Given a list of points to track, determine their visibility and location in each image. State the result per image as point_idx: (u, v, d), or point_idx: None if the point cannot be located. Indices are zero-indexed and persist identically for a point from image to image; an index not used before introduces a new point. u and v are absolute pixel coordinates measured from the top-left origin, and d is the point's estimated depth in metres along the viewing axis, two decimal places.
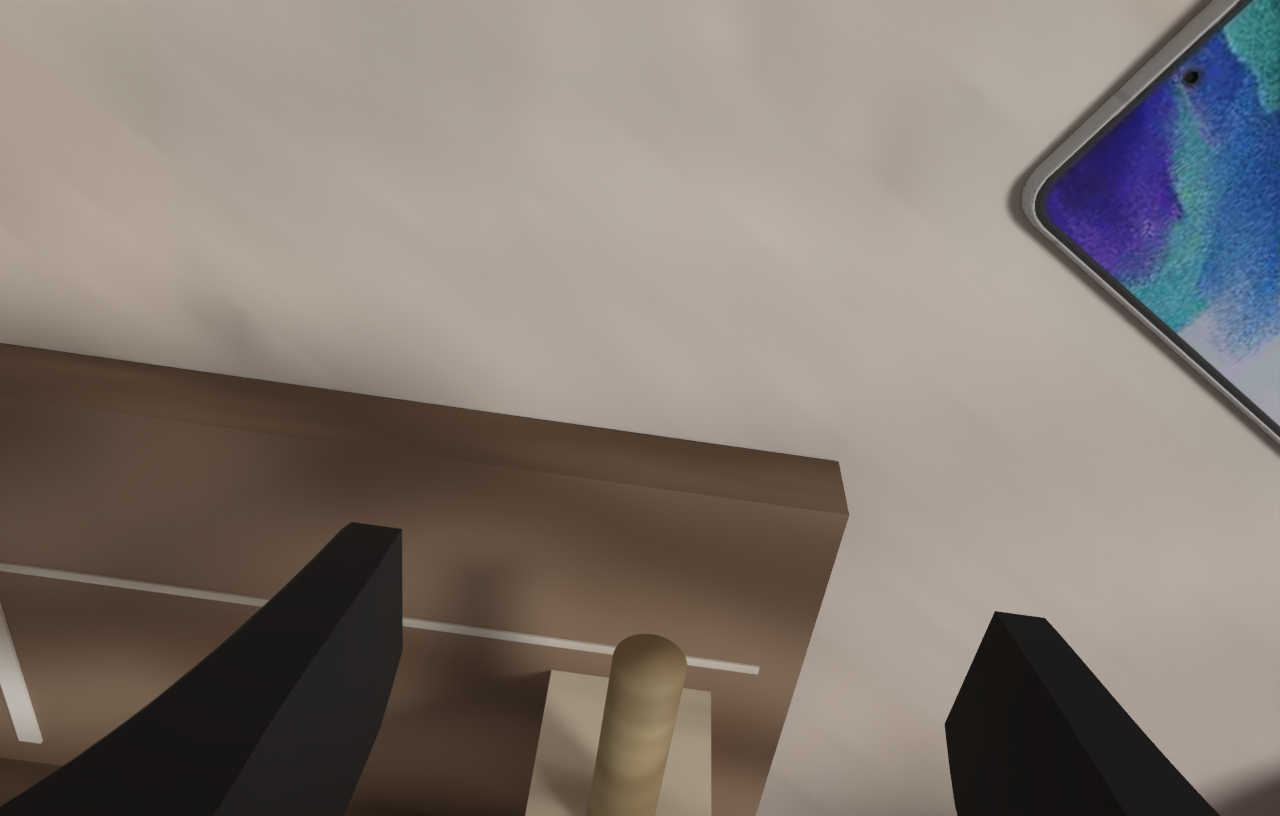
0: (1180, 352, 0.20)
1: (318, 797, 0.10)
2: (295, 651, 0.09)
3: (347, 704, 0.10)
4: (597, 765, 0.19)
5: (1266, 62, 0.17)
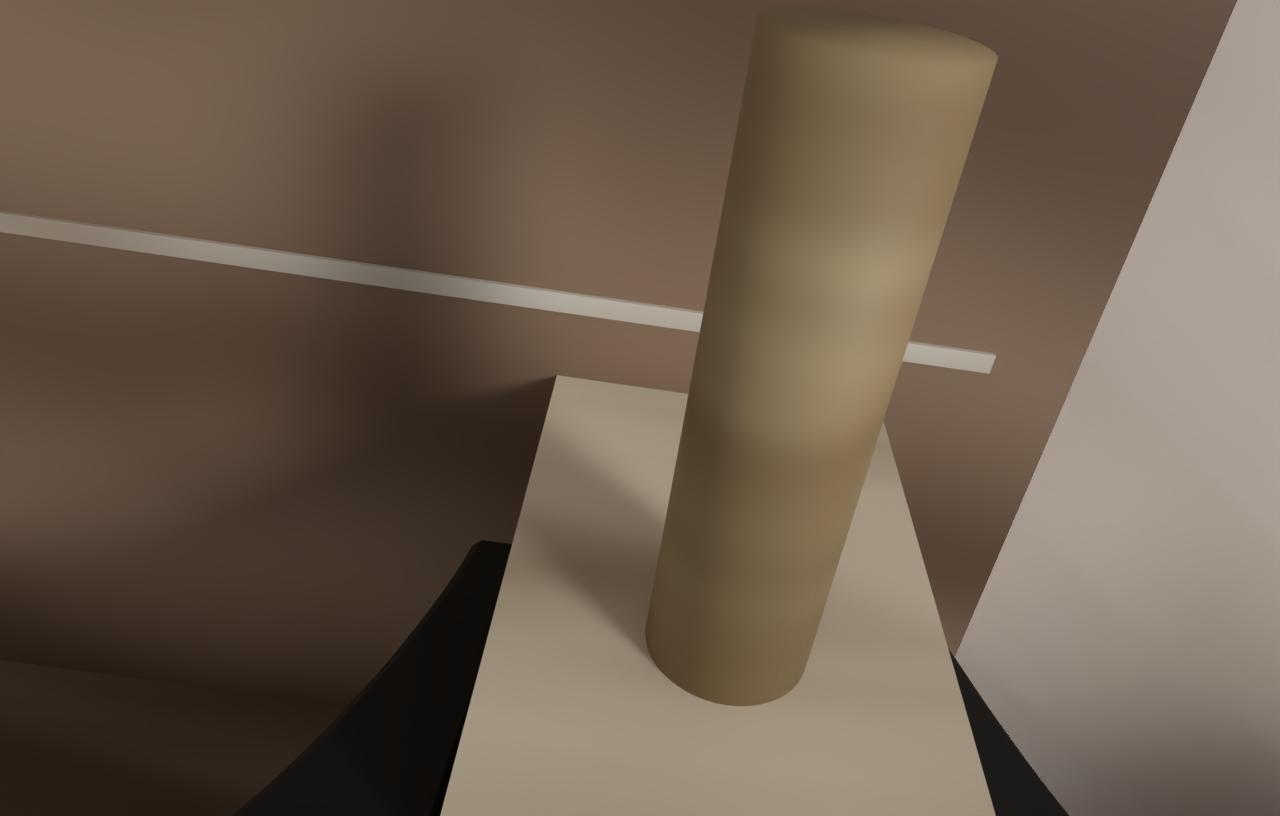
0: None
1: None
2: (459, 673, 0.09)
3: None
4: (687, 441, 0.07)
5: None
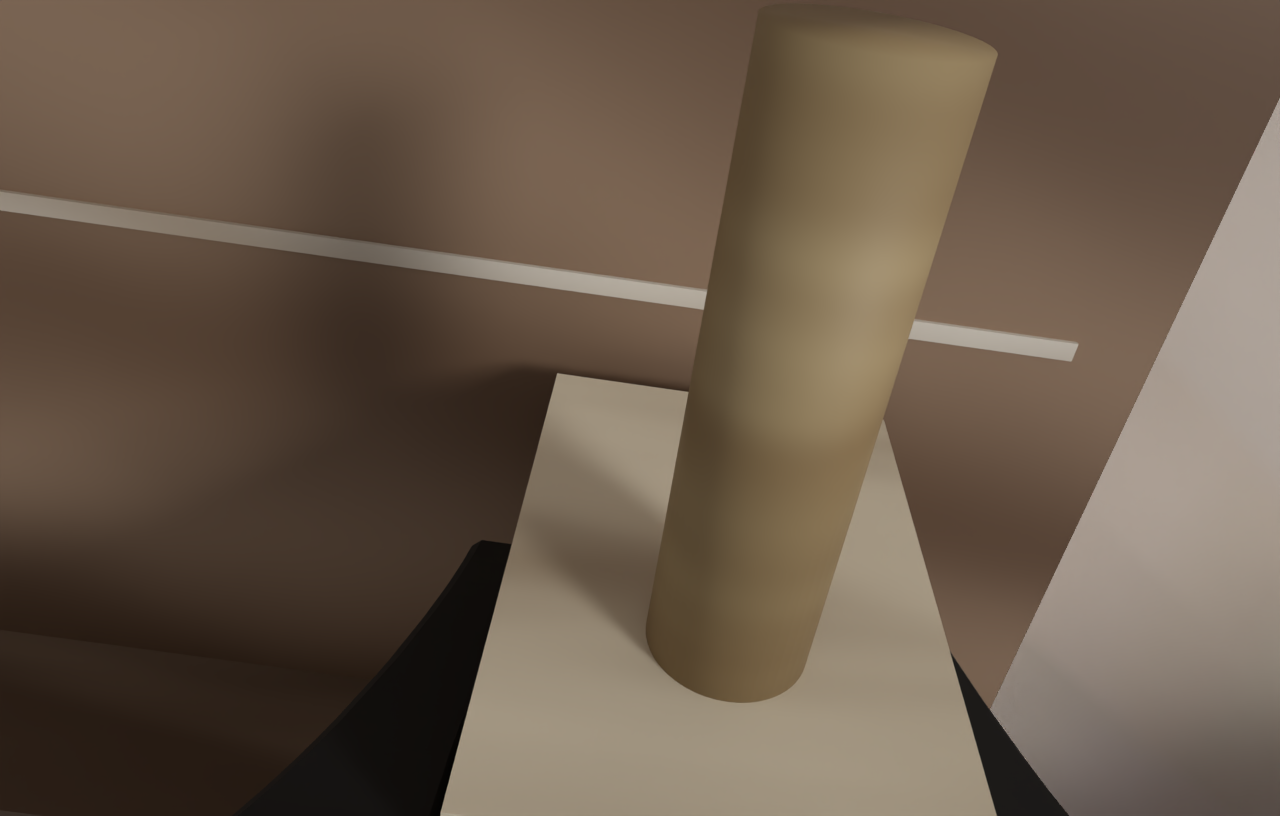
0: None
1: None
2: (459, 673, 0.09)
3: None
4: (687, 438, 0.07)
5: None
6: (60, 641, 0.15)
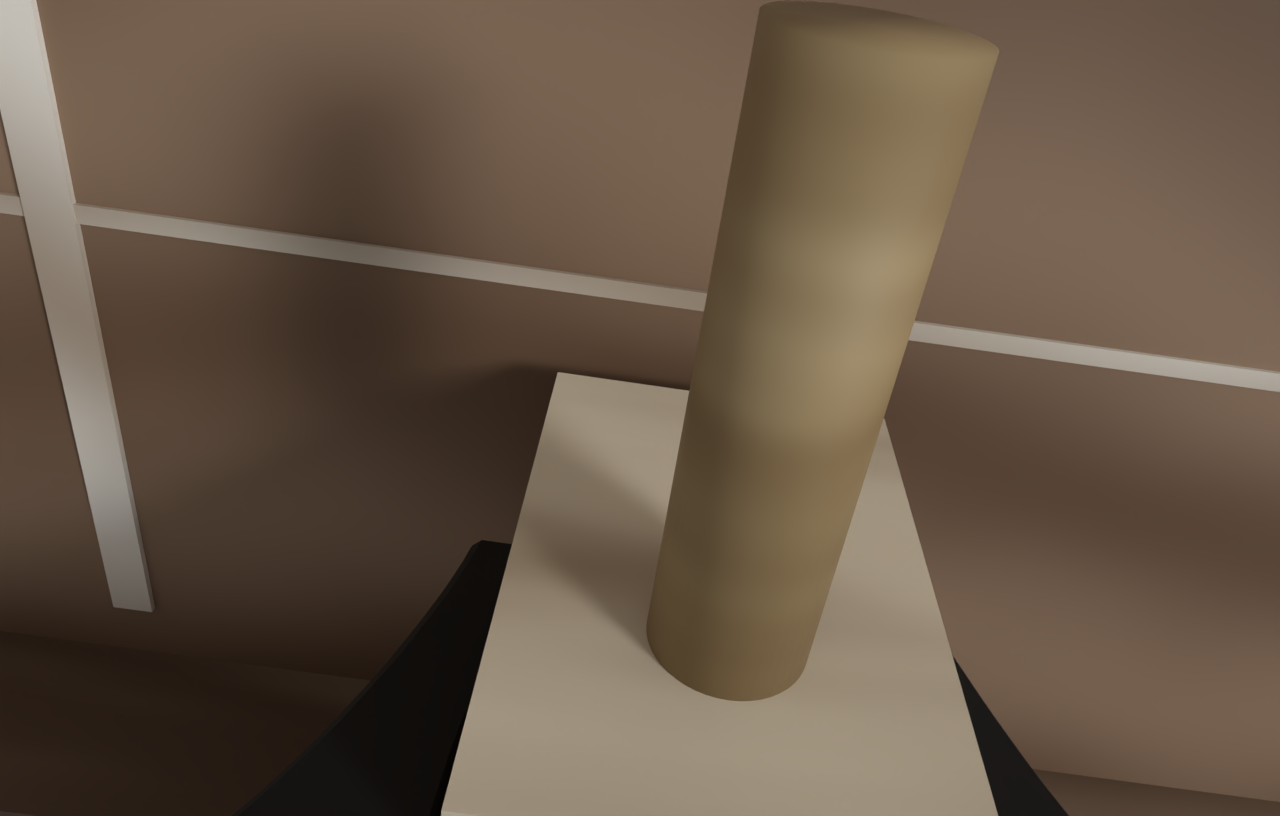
0: None
1: None
2: (459, 673, 0.09)
3: None
4: (688, 436, 0.07)
5: None
6: None
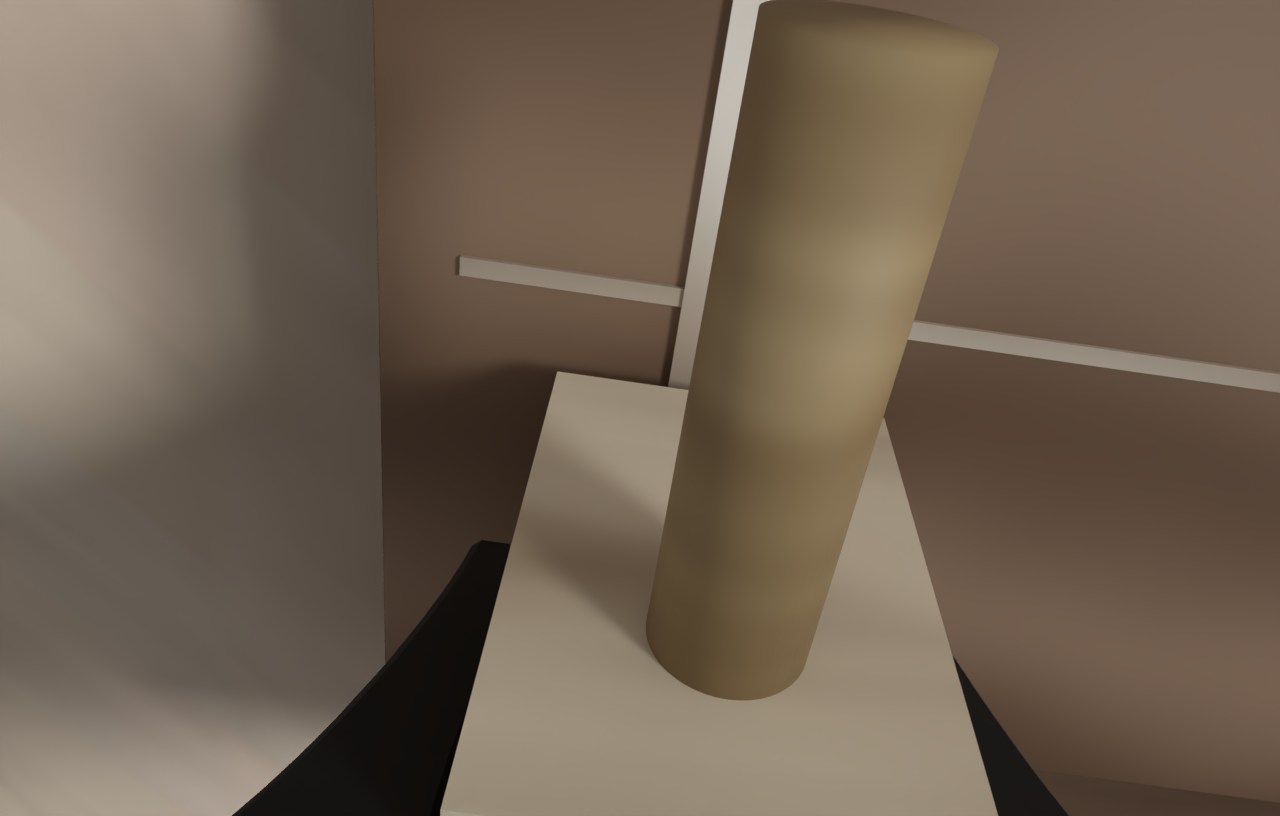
0: None
1: None
2: (459, 673, 0.09)
3: None
4: (688, 435, 0.07)
5: None
6: None
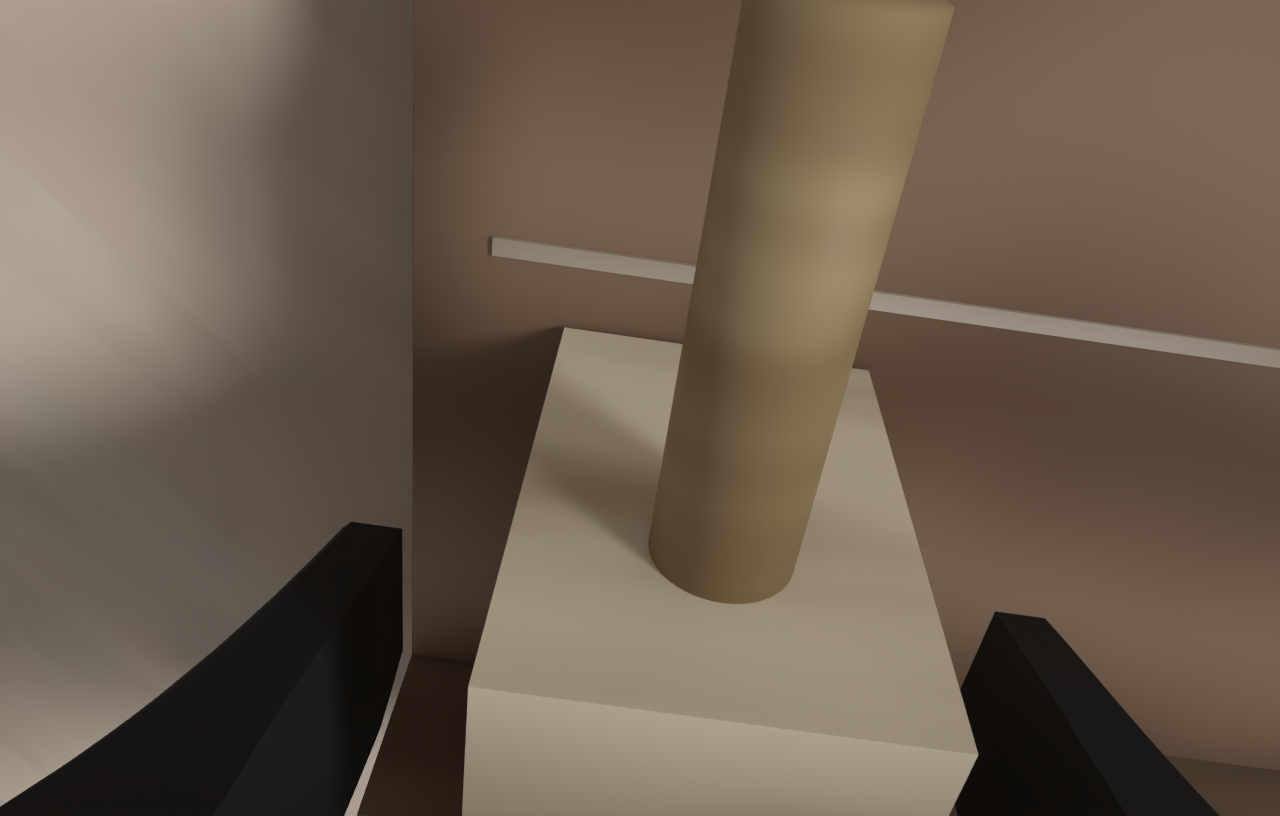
0: None
1: (318, 797, 0.10)
2: (295, 651, 0.09)
3: (347, 704, 0.10)
4: (686, 359, 0.08)
5: None
6: None
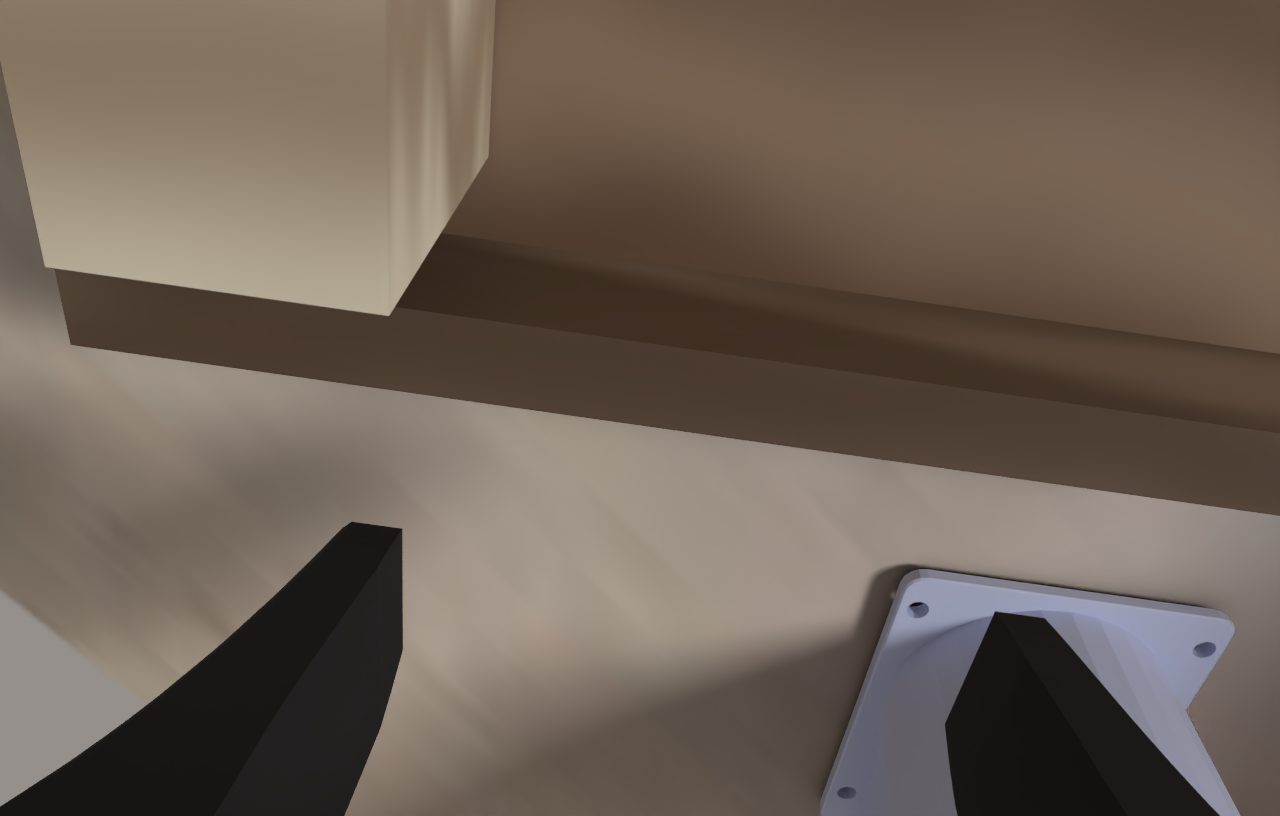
0: None
1: (318, 797, 0.10)
2: (294, 651, 0.09)
3: (347, 704, 0.10)
4: None
5: None
6: (671, 266, 0.17)
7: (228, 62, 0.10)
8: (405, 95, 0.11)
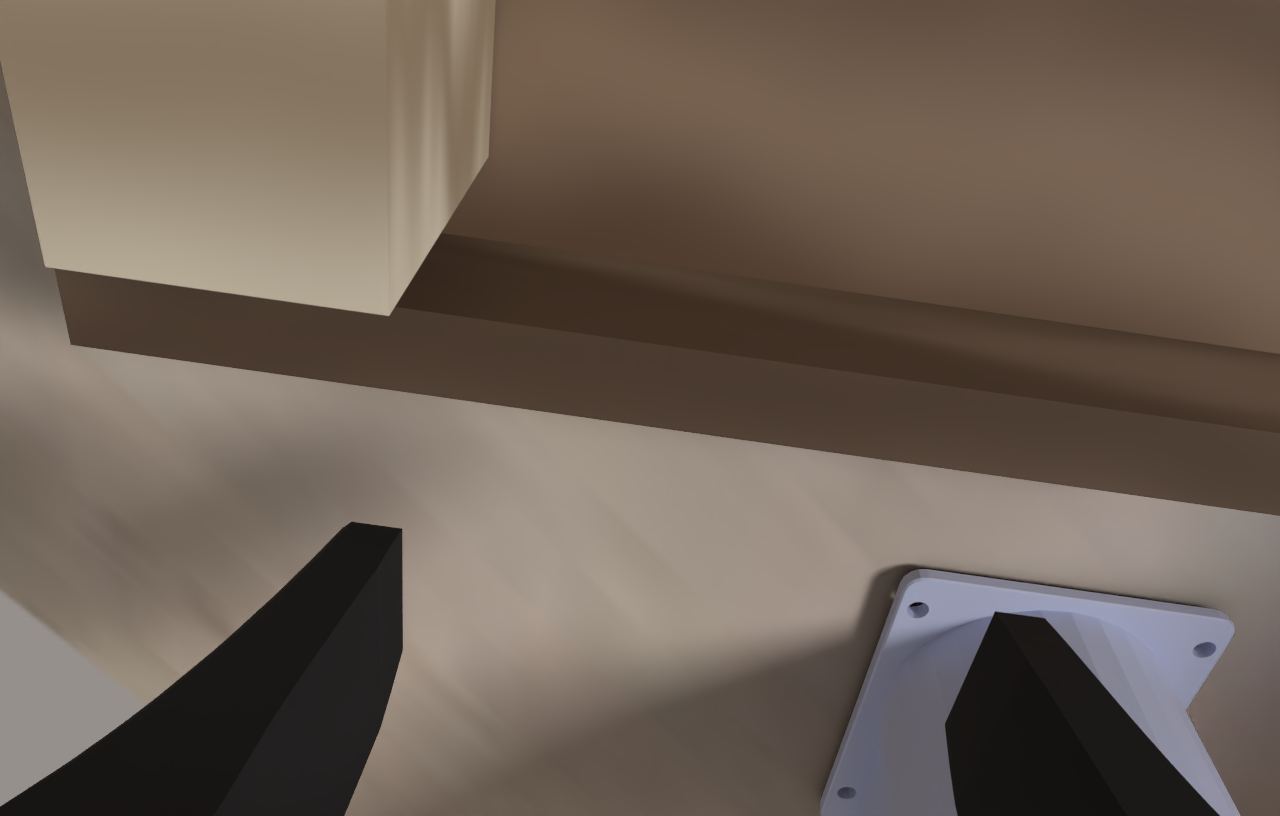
0: None
1: (318, 797, 0.10)
2: (294, 651, 0.09)
3: (347, 704, 0.10)
4: None
5: None
6: (671, 266, 0.17)
7: (228, 62, 0.10)
8: (407, 96, 0.11)
